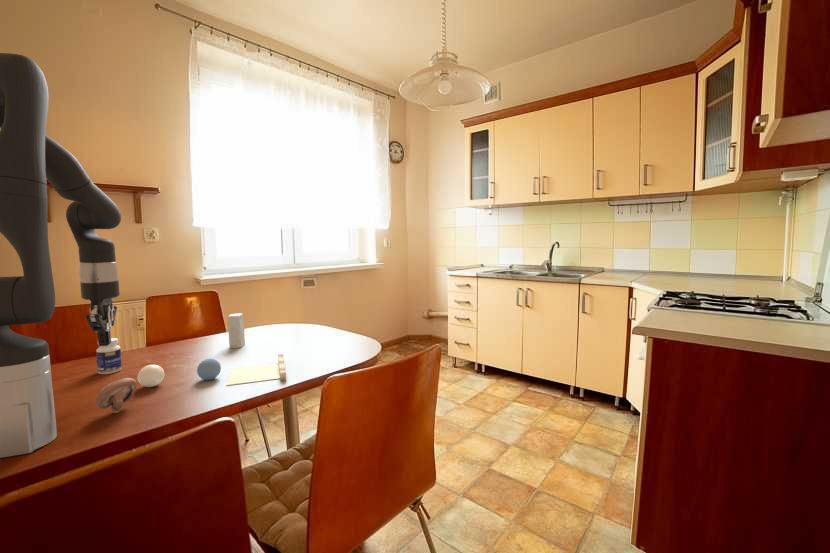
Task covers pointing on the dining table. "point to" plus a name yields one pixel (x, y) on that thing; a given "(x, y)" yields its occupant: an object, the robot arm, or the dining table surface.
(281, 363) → the stopper strip
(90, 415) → the dining table surface
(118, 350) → the pill bottle
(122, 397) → the mushroom
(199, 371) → the blue ball
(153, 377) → the cue ball
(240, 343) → the skincare box
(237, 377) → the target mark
